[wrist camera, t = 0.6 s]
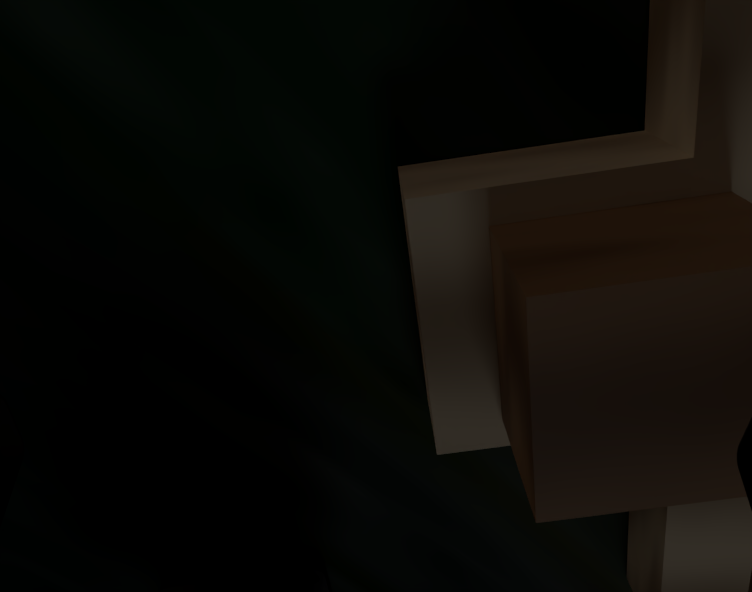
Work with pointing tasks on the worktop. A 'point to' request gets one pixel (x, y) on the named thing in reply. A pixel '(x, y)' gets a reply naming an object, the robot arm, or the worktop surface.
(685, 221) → the walnut block
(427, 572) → the worktop surface
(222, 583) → the robot arm
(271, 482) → the worktop surface
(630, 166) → the trap deck
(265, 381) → the worktop surface
